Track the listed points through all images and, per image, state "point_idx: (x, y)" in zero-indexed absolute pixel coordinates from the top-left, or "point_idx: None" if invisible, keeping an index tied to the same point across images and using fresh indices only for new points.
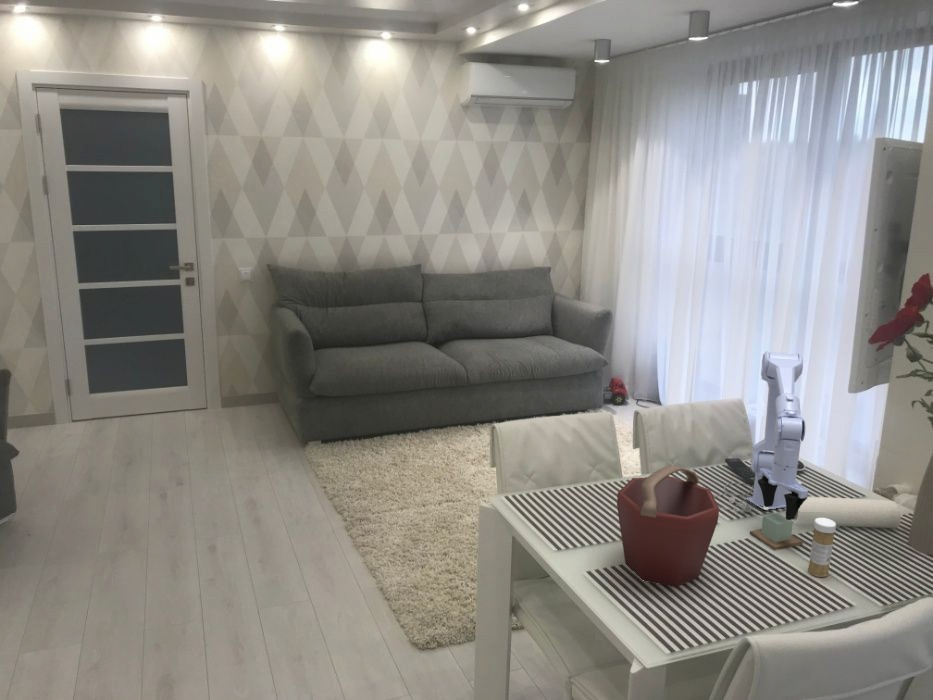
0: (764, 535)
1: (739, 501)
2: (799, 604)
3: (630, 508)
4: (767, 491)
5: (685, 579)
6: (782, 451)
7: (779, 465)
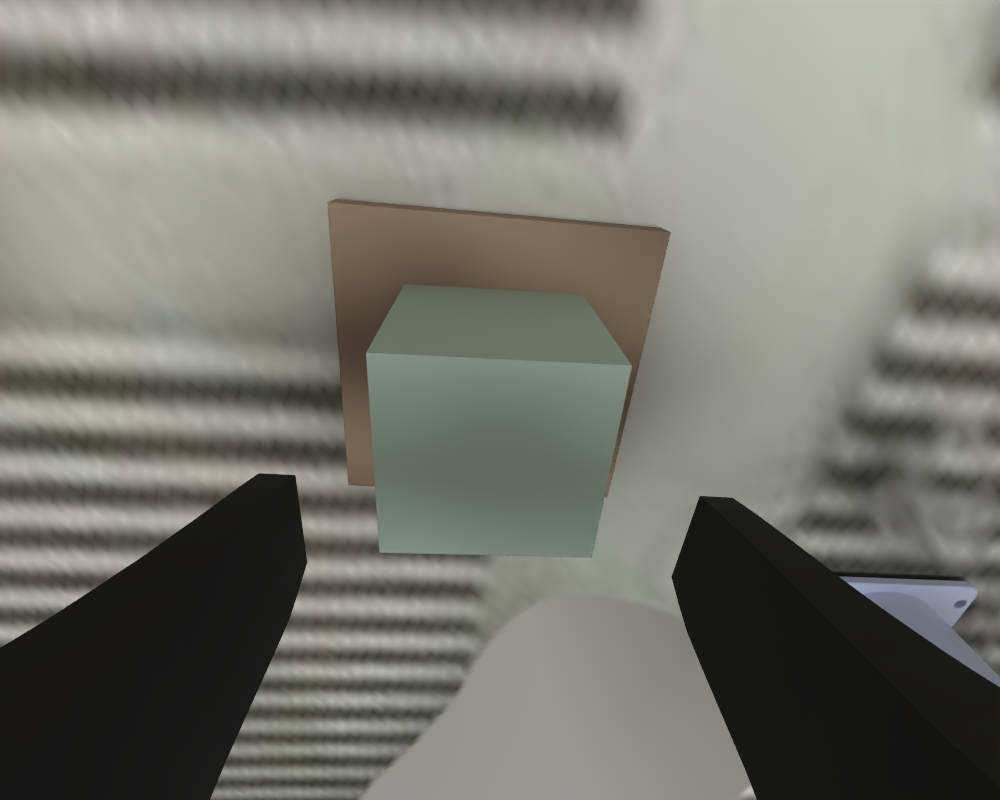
0: (542, 293)
1: (990, 538)
2: None
3: None
4: (894, 781)
5: None
6: None
7: None
